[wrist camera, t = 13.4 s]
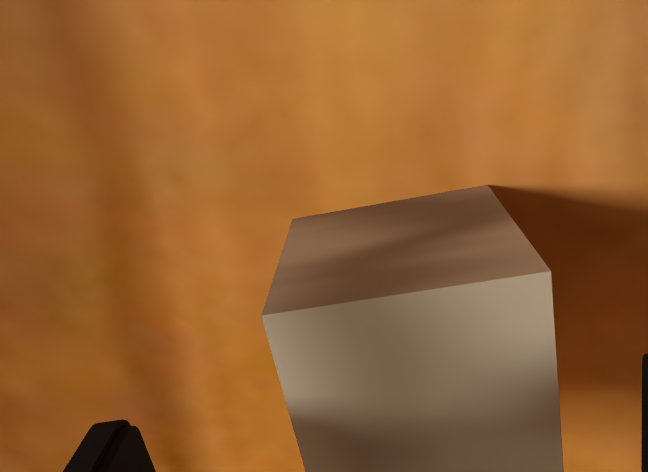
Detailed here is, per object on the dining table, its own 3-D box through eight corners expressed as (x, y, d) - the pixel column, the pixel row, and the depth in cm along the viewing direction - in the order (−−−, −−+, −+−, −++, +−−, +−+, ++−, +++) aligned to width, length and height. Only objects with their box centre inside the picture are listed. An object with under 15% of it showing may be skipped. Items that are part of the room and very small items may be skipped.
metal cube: (486, 183, 14) (551, 270, 9) (504, 350, 16) (565, 494, 11) (293, 218, 14) (261, 315, 10) (331, 374, 16) (319, 519, 12)
